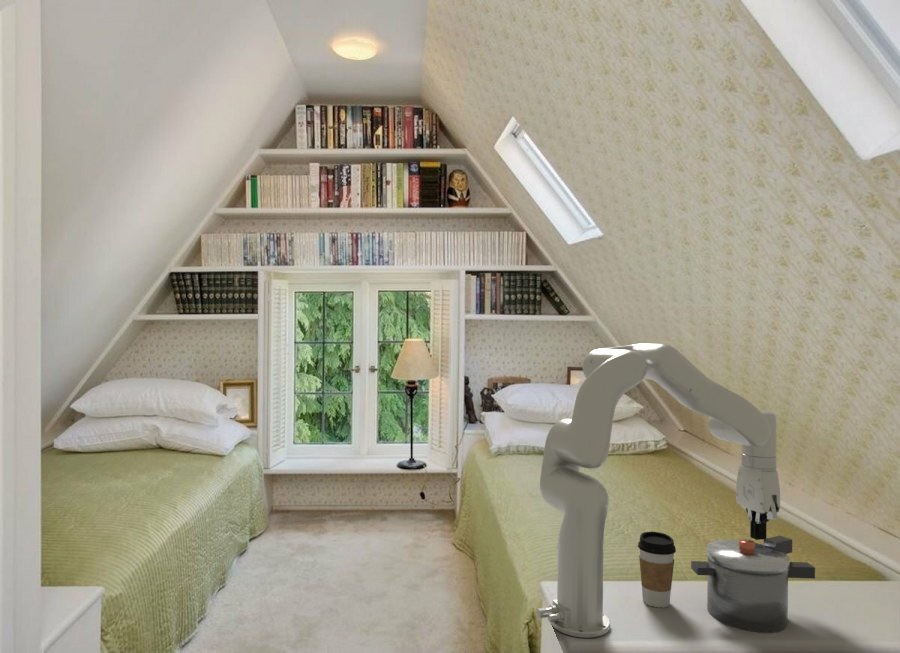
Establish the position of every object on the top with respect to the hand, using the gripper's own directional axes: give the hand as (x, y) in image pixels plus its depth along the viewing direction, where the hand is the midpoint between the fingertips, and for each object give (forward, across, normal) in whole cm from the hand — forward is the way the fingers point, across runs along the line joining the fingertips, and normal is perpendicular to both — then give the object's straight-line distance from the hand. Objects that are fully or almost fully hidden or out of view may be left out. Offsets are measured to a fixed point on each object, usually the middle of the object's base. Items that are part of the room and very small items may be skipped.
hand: (758, 538), depth 144 cm
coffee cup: (+13, -1, -27) cm, 30 cm away
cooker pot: (+13, +9, -9) cm, 19 cm away
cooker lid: (+1, +8, -8) cm, 12 cm away
